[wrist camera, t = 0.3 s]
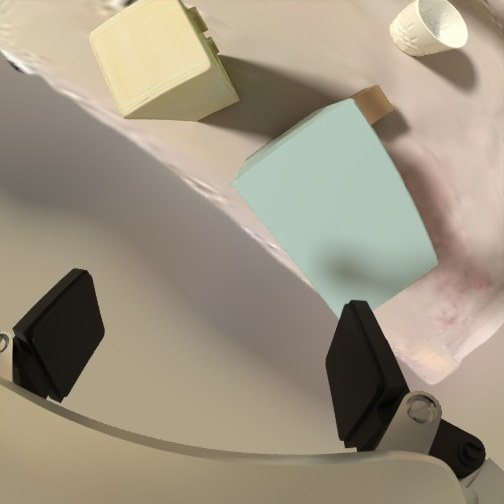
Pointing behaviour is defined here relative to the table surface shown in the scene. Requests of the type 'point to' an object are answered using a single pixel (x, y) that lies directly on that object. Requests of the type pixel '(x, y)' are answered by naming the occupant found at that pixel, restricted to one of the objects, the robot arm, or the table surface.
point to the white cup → (429, 28)
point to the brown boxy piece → (373, 103)
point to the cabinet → (339, 207)
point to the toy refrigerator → (161, 63)
